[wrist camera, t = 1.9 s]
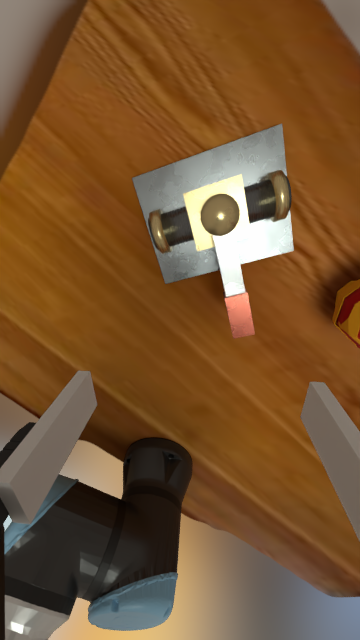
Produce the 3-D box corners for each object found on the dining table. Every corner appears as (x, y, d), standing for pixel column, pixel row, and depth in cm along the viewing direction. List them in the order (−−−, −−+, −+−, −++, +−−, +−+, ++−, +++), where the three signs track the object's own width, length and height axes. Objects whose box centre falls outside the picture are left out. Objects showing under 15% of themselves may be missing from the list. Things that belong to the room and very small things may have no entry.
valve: (166, 282, 35) (158, 296, 29) (134, 179, 30) (115, 169, 24) (291, 249, 32) (313, 258, 25) (279, 126, 26) (303, 98, 20)
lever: (197, 202, 24) (196, 200, 21) (232, 191, 23) (235, 187, 20) (225, 327, 29) (228, 339, 27) (254, 321, 29) (260, 333, 26)
